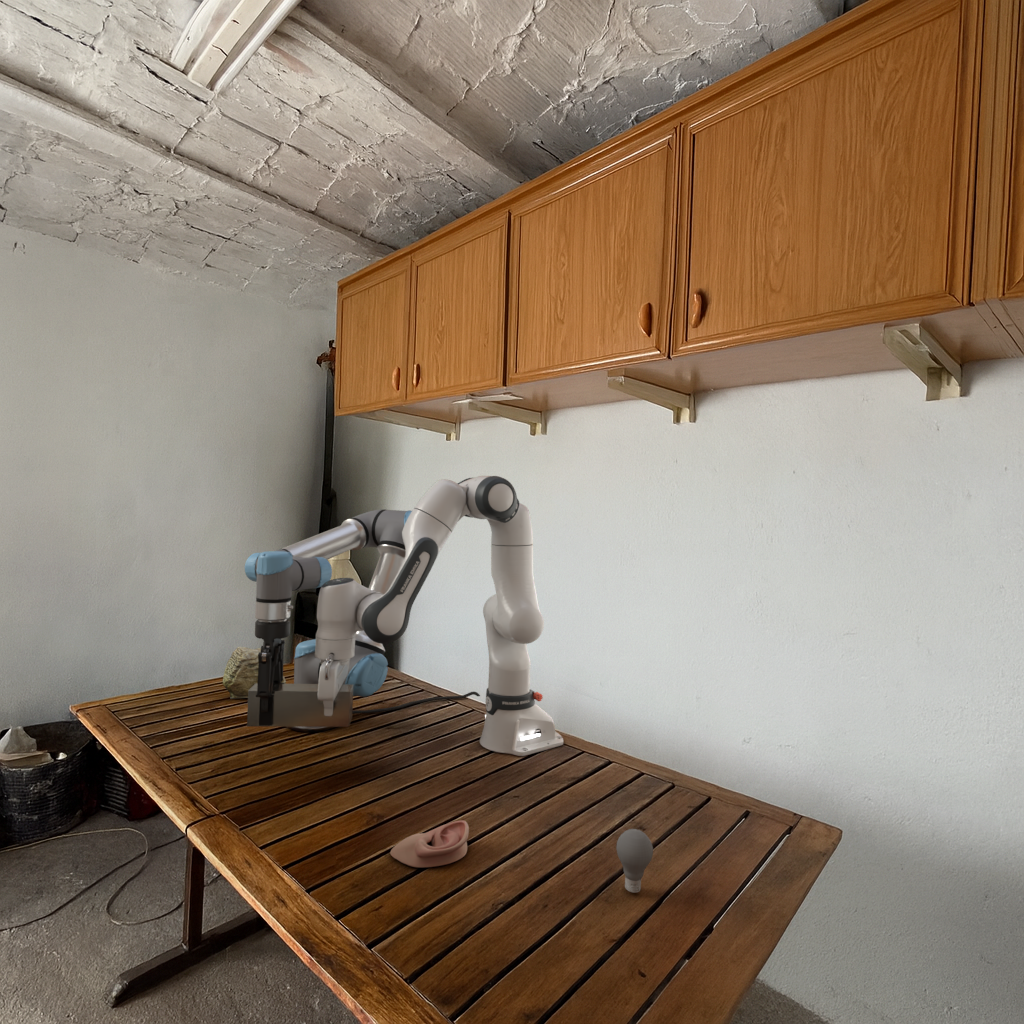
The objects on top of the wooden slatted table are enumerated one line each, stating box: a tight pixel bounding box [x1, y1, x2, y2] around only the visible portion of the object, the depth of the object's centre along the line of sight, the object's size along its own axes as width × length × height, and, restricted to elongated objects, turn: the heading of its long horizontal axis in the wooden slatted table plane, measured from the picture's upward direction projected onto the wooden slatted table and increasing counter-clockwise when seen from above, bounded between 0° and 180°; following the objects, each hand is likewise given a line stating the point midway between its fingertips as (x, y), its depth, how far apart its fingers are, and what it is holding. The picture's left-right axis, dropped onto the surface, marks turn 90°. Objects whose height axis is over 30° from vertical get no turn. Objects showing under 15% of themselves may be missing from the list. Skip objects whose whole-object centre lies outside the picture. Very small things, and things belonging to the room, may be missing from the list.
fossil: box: [222, 646, 287, 699], centre depth 198 cm, size 9×18×15 cm, turn 132°
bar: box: [246, 683, 354, 728], centre depth 146 cm, size 22×6×8 cm, turn 96°
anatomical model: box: [389, 819, 470, 869], centre depth 115 cm, size 13×4×12 cm
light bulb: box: [615, 828, 654, 894], centre depth 106 cm, size 6×6×10 cm
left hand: (269, 719), depth 145 cm, fingers closed on bar, 6 cm apart
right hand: (332, 708), depth 146 cm, fingers open, 8 cm apart
